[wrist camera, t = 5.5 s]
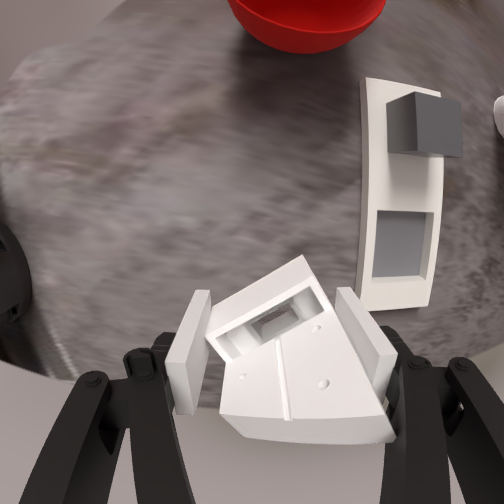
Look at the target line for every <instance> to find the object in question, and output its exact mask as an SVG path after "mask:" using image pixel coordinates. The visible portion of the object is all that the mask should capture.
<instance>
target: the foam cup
mask: <svg viewBox="0 0 504 504" xmlns="http://www.w3.org/2000/svg"><path fill="white" fill-rule="evenodd" d="M493 113H494V120H495V124H496V126H497V129H498V131H499V133H500V134H501V135H502V137H503V138H504V95H503V96H501V97H499V98H498V99H497V100H496V101H495V103H494V110H493Z"/></svg>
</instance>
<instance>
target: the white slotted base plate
mask: <svg viewBox="0 0 504 504" xmlns="http://www.w3.org/2000/svg"><path fill="white" fill-rule="evenodd" d="M359 87H360V103H361V127H362V195H361V220H360V237H359V251H358V263H357V274H356V284H355V294H356V296H357V297H358V298H359V300H360V301H361V302H362V304H363V305H364V307H365V308H366V309H367V311H378V310H390V309H402V308H412V307H422V306H428V302H429V297H430V292H431V287H432V281H433V276H434V270H435V263H436V256H437V249H438V241H439V232H440V222H441V210H442V194H443V158H463V134H462V116H461V104H460V103H459V102H456V101H452V100H449V99H445V98H441V96H440V92H437V91H433V90H429V89H424V88H420V87H416V86H411V85H407V84H402V83H397V82H391V81H386V80H380V79H373V78H367V77H365V78H364V79H363V80H361V81H360V82H359Z"/></svg>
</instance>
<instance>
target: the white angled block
mask: <svg viewBox="0 0 504 504" xmlns="http://www.w3.org/2000/svg"><path fill="white" fill-rule="evenodd" d="M288 303H289V304H290V306H291V307H292V310H290V311H288V312H286V313H284V314H283V315H281V316H279V317H277V318H275V319H273V320H272V321H270V322H268V323H266V324H264V325H262V326H261V325H260V323H259V322H258V321H257V320H259V319H261V318H263V317H265V316H266V315H268V314H270V313H272V312H274V311H275V310H277V309H279V308H281V307H283V306H284V305H286V304H288ZM205 338H206V339H207V340H208V341H209V343H210V344H211V345H212V346H213V347H214V349H215V350H216V351H217V352H218V354H219V355H220V356H221V357H222V358H223V360H224V361H225V362H226V366H225V374H224V381H223V389H222V396H221V404H220V412H219V414H220V415H221V416H222V417H223V418H224V419H225V420H226V421H227V422H228V423H229V424H231V425H232V426H233V427H234V428H235V429H236V430H237V431H238V432H239V433H241V435H242V436H244V437H246V438H253V439H262V440H271V441H282V442H294V443H310V444H376V443H392V442H393V441H394V440H395V438H396V435H395V432H394V430H393V428H392V425H391V423H390V421H389V419H388V417H387V415H386V413H385V410H384V408H383V406H382V404H381V402H380V400H379V398H378V396H377V394H376V392H375V389H374V387H373V385H372V383H371V381H370V379H369V377H368V375H367V373H366V371H365V369H364V367H363V365H362V363H361V361H360V359H359V357H358V355H357V353H356V351H355V349H354V347H353V345H352V343H351V341H350V339H349V337H348V335H347V333H346V332H345V330H344V328H343V326H342V324H341V322H340V320H339V318H338V316H337V314H336V312H335V310H334V309H333V307H332V305H331V303H330V301H329V300H328V298H327V296H326V294H325V293H324V291H323V289H322V287H321V286H320V284H319V282H318V280H317V279H316V277H315V275H314V274H313V272H312V270H311V268H310V267H309V265H308V263H307V262H306V260H305V258H304V257H303V255H301V256H299V257H297V258H296V259H294V260H292V261H290V262H289V263H287V264H285V265H284V266H282V267H280V268H279V269H277V270H275V271H273V272H272V273H270V274H268V275H267V276H265V277H263V278H261V279H260V280H258V281H256V282H255V283H253V284H251V285H249V286H248V287H246V288H244V289H242V290H241V291H239V292H237V293H235V294H234V295H232V296H230V297H228V298H227V299H225V300H223V301H221V302H220V303H218V304H216V305H214V306H213V307H212V309H211V314H210V318H209V321H208V325H207V329H206V332H205Z"/></svg>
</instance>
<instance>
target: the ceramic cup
mask: <svg viewBox="0 0 504 504" xmlns="http://www.w3.org/2000/svg"><path fill="white" fill-rule="evenodd" d="M228 2H229V5H230V7H231V9H232V11H233V13H234V15H235V17H236V18H237V20H238V21H239V22H240V23H241V25H242V26H243V27H244V28H245V30H246V31H248V32H249V33H250V34H251V35H252V36H254V37H255V38H256V39H258V40H259V41H261V42H263V43H264V44H266V45H268V46H270V47H273V48H275V49H278V50H281V51H285V52H289V53H298V54H312V53H319V52H324V51H329V50H332V49H334V48H337V47H339V46H342V45H344V44H346V43H347V42H349V41H350V40H352V39H353V38H355V37H356V36H357V35H359V34H360V33H362V32H363V31H364V30H365V29H366V28H367V27H369V26H370V25H371V24H372V23H373V21H374V20H375V19H376V18H377V17H378V16H379V15H380V13H381V11H382V9H383V7H384V5H385V3H386V0H228Z"/></svg>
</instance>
